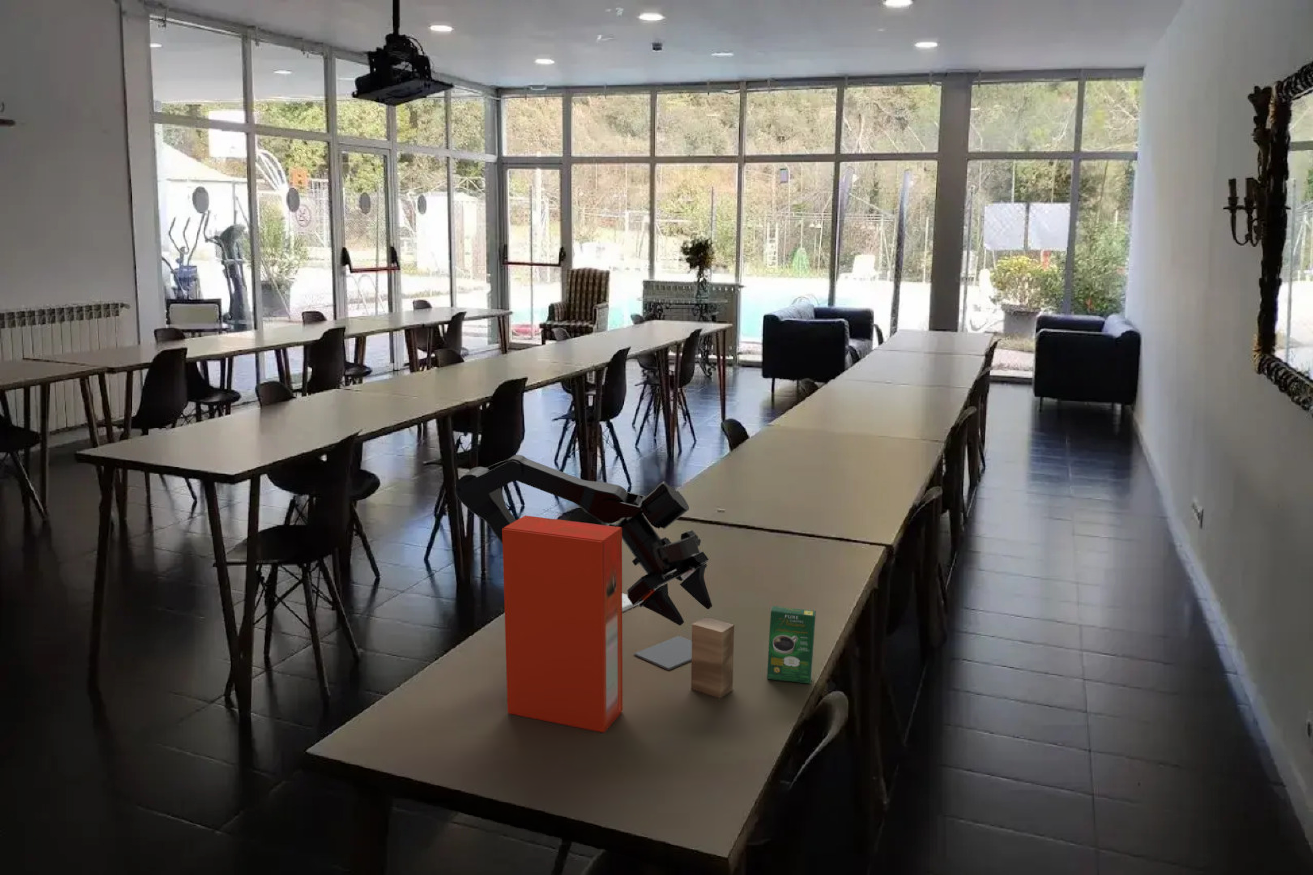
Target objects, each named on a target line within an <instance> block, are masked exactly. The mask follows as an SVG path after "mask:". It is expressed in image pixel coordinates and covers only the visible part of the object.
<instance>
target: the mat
mask: <svg viewBox="0 0 1313 875" xmlns="http://www.w3.org/2000/svg"><path fill="white" fill-rule="evenodd" d="M633 655H634V656H635V657H637V658H639V659H642V660H644V661H647V662H649V663H650V664H654V665H656V666H657V667H660V668H662V669H665V670H667V671H670V670H672V669H675V668H677V667H680V666H682V665H685V664H686V663H689V662H692V639H689V638H686V637H683V636H681V635H677V636H675V637H672V638H670V639H668V640H665V641H662V642H659V643H657V644H654V645H652V646H649V647H647V648H645V649H642V650H639V651H637V652H635V653H634V654H633Z"/></svg>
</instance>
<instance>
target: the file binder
mask: <svg viewBox="0 0 1313 875" xmlns="http://www.w3.org/2000/svg"><path fill="white" fill-rule="evenodd" d="M502 541H503V544H502V564H503V565H502V566H503V596H504V598H503V599H504V600H503V601H504V603H503V604H504V634H505V664H506V666H505V667H506V671H505V672H506V673H505V674H506V695H507V696H506V697H507V698H506V699H507V700H506V702H507V713H508V714H509V715H515V716H519V717H525V718H530V719H534V720H538V721H544V722H550V723H555V724H559V725H564V726H569V727H573V728H577V729H583V730H589V731H594V732H599V733H605V732H606V731H607V730H608V728H610V726H611V725H612V724H613V723H614V722H615V720H617V719H618V717H619V716H620V715H621V714H622V711H623V710H624V709H623V708H624V707H623V706H624V705H623V702H624V701H623V696H624V695H623V612H622V593H623V540H622V527H614V526H609V525H607V524H606V525H605V524H596V523H590V522H589V523H588V522H581V521H572V520H564V519H558V518H557V519H556V518H549V517H548V518H547V517H540V516H532V515H523V516H522V517H520V518H518V519H516V521H515V522H513V523H511V524H509V525H508V526H506V527H504V529H502Z"/></svg>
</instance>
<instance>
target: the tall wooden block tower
mask: <svg viewBox="0 0 1313 875" xmlns="http://www.w3.org/2000/svg"><path fill="white" fill-rule="evenodd" d="M691 641H692V661H691V665H690V666H691V670H690V671H691V672H690V674H691V675H690V677H691V678H690V689H691V690H693V691H697V692H700V693H703V694H706V695H709V696H712V697H716V698H719V699H721V698H722V699H723V697H724V696H727V694H729V693H730V692H731V691H733V690H734V689H733V687H734V681H733V680H734V652H735V651H734V649H735V648H734V647H735V644H734V642H735V624H733V623H729V622H725V621H722V620H717V619H713V618H711V617H706V616H704V617H702V618H700V619H698V620H696V621H695V622H693V623H692V624H691Z"/></svg>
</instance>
